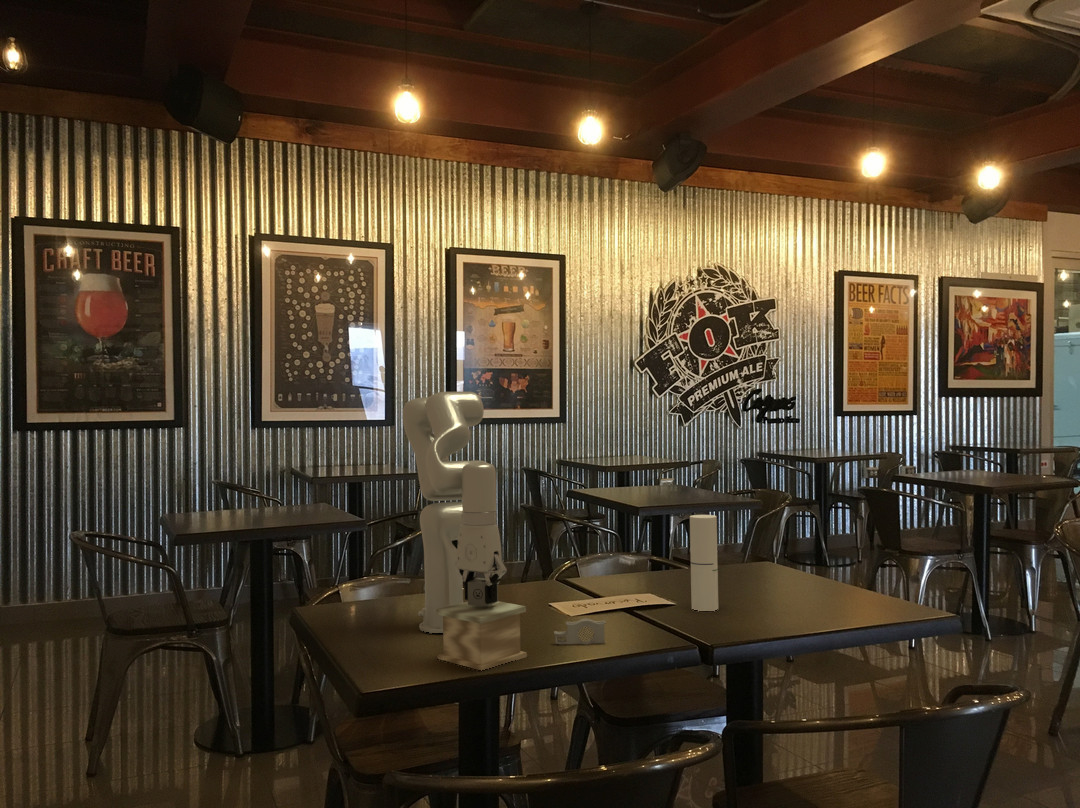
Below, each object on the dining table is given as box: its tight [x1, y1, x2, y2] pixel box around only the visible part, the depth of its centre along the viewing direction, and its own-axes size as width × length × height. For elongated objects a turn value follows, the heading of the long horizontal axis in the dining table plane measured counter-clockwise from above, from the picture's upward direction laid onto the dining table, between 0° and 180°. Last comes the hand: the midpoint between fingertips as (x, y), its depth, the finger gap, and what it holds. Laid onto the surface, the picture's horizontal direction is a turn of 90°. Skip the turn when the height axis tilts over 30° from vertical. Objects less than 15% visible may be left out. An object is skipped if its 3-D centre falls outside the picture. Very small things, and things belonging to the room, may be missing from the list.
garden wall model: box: [553, 617, 607, 645], centre depth 209 cm, size 12×2×6 cm, turn 92°
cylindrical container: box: [689, 514, 719, 612], centre depth 242 cm, size 7×7×25 cm
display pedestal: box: [436, 600, 528, 672], centre depth 198 cm, size 14×14×11 cm
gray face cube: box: [467, 577, 499, 607], centre depth 198 cm, size 5×5×5 cm
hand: (480, 599), depth 198 cm, fingers closed on gray face cube, 5 cm apart
